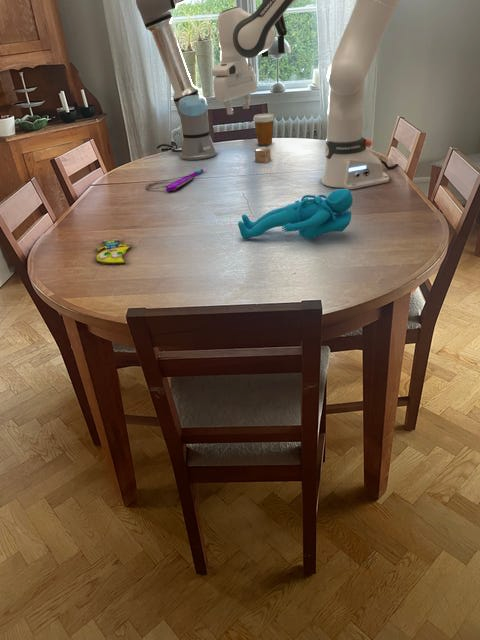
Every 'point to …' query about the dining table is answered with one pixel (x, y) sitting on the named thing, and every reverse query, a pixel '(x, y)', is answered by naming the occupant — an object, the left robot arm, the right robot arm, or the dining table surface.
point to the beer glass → (264, 128)
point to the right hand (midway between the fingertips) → (238, 111)
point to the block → (262, 155)
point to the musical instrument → (178, 181)
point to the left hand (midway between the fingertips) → (273, 55)
